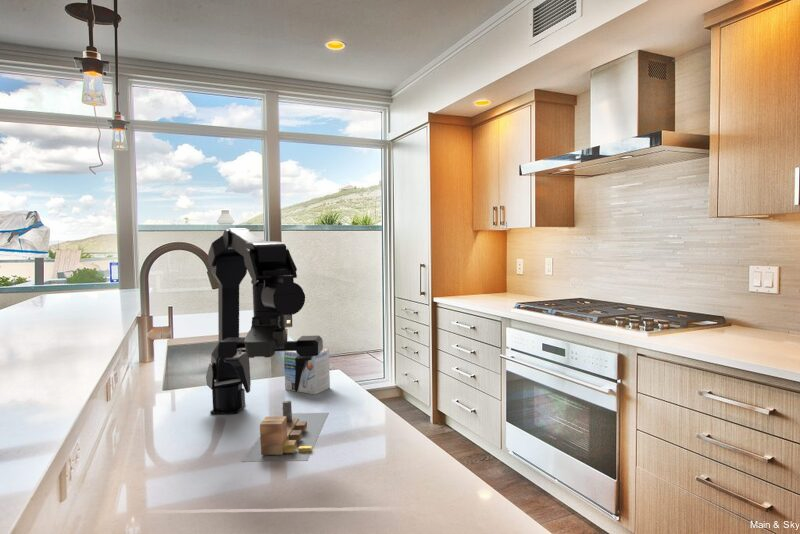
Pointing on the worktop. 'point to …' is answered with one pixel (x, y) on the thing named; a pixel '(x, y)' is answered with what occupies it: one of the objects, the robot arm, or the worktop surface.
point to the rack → (293, 434)
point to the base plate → (308, 439)
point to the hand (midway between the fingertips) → (272, 391)
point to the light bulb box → (308, 372)
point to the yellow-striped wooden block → (273, 430)
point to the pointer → (305, 449)
